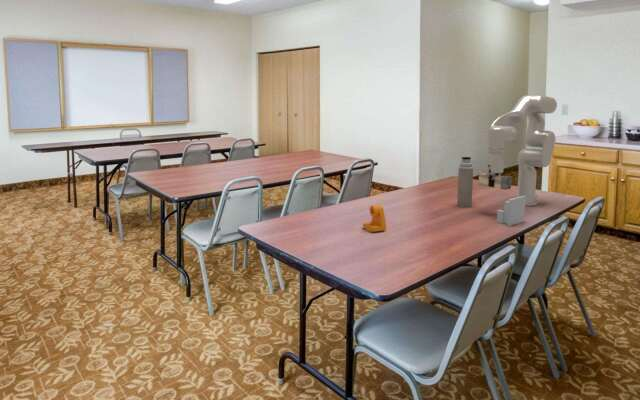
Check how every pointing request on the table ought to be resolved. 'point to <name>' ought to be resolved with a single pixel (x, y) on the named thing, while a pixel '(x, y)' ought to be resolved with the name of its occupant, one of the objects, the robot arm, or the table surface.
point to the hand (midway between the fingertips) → (493, 185)
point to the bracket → (376, 219)
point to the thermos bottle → (465, 183)
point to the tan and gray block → (496, 181)
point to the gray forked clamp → (512, 211)
